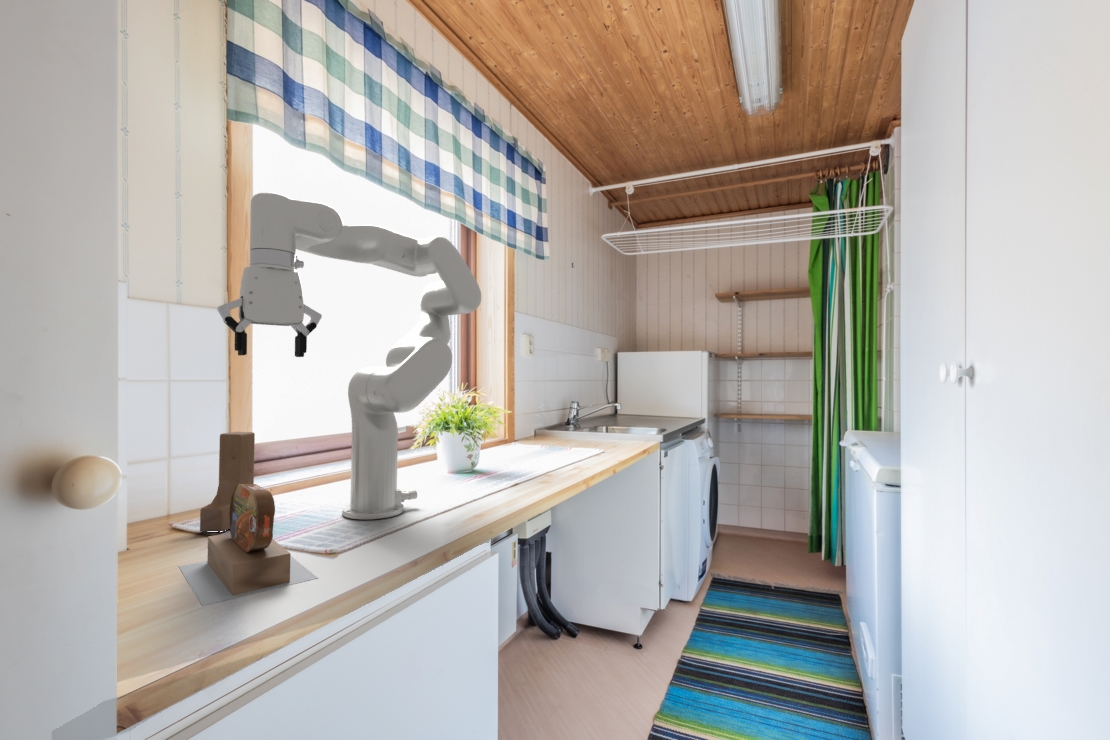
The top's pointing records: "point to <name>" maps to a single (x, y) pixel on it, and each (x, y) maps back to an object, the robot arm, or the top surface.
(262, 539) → the tin
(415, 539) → the top surface
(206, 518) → the wooden block
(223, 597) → the plate
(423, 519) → the top surface
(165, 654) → the top surface
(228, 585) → the base block
